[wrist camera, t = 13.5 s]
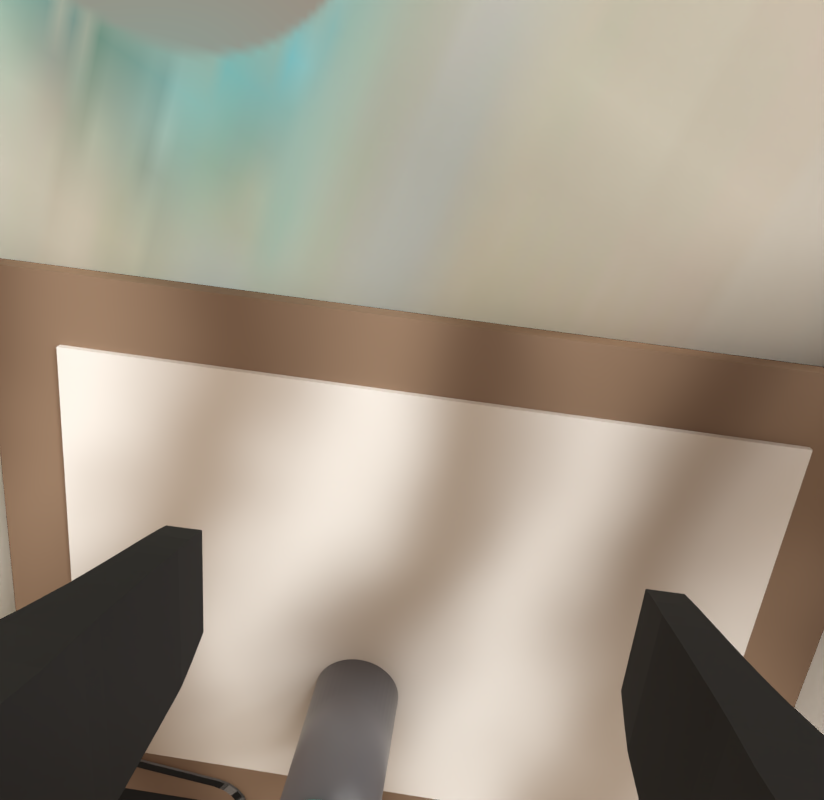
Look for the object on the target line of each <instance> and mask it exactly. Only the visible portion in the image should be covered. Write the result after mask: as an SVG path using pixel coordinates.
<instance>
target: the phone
mask: <svg viewBox="0 0 824 800" xmlns="http://www.w3.org/2000/svg"><path fill="white" fill-rule="evenodd" d="M137 767H138V768H142V769H146V770H150V771H154V772H158V773H162V774H166V775H170V776H174V777H178V778H182V779H186V780H190V781H194V782H198V783H202V784H206V785H210V786H214V787H216V788H219V789H222V790H224V791H225V792H227V793H228V794H230V795H231V796H232V797H233V798H234V799H235V800H246V799H245V796H244V795H243V794H242V793H241V792H240V791H239V789H237V788H236V787H235V786H233V785H232V784H230V783H228V782H225V781H223V780H220V779H216V778H212V777H208V776H205V775H201V774H197V773H193V772H189V771H185V770H181V769H177V768H173V767H169V766H165V765H161V764H157V763H153V762H150V761H146V760H142V759H141V761H140V762H139V764H138V766H137ZM118 800H197V799H191V798H184V797H178V796H172V795H166V794H160V793H154V792H148V791H141V790H135V789H129V788H125V789H124V791H123V792H122V794H121V796H120V798H119V799H118Z"/></svg>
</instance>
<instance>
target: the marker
mask: <svg viewBox="0 0 824 800" xmlns="http://www.w3.org/2000/svg"><path fill="white" fill-rule="evenodd" d="M397 704H398V690H397V687H396V684H395V682H394V681H393V679H392V678H391V676H390V675H389V674H388V673H387V672H386V671H384V670H383V669H382V668H380V667H379V666H377V665H375V664H373V663H370V662H367V661H364V660H358V659H347V660H341V661H338V662H335V663H333V664H331V665H329V666H328V667H327V668H325V669H324V670H323V671H322V672H321V674H320V675H319V677H318V679H317V682H316V686H315V689H314V692H313V695H312V698H311V702H310V705H309V708H308V711H307V715H306V718H305V721H304V724H303V727H302V731H301V734H300V737H299V740H298V744H297V747H296V750H295V753H294V756H293V760H292V763H291V766H290V769H289V773H288V776H287V779H286V782H285V785H284V789H283V792H282V795H281V798H280V800H382V795H383V789H384V783H385V777H386V771H387V765H388V759H389V753H390V746H391V740H392V734H393V728H394V722H395V716H396V710H397Z"/></svg>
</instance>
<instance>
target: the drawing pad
mask: <svg viewBox="0 0 824 800" xmlns="http://www.w3.org/2000/svg"><path fill="white" fill-rule="evenodd" d="M0 454H1V464H2V474H3V484H4V494H5V505H6V515H7V525H8V535H9V545H10V555H11V565H12V576H13V586H14V596H15V606H16V611H17V610H19V609H21V608H23V607H25V606H27V605H28V604H30V603H32V602H34V601H36V600H38V599H40V598H42V597H43V596H45V595H47V594H49V593H51V592H53V591H55V590H56V589H58V588H60V587H62V586H64V585H66V584H68V583H69V582H71V581H73V580H74V579H76V578H78V577H79V576H81V575H83V574H85V573H86V572H88V571H90V570H91V569H93V568H95V567H96V566H98V565H100V564H101V563H103V562H105V561H106V560H108V559H110V558H111V557H113V556H115V555H116V554H118V553H120V552H121V551H123V550H125V549H126V548H128V547H129V546H131V545H133V544H134V543H136V542H138V541H139V540H141V539H143V538H144V537H146V536H148V535H149V534H151V533H153V532H155V531H156V530H158V529H160V528H162V527H164V526H166V525H167V526H175V527H183V528H190V529H198V530H202V556H203V629H204V632H203V635H202V637H201V640H200V643H199V645H198V648H197V650H196V653H195V655H194V658H193V661H192V663H191V666H190V668H189V670H188V673H187V675H186V678H185V680H184V682H183V685H182V687H181V689H180V691H179V693H178V694H177V696H176V698H175V700H174V702H173V704H172V705H171V707H170V709H169V711H168V713H167V714H166V716H165V718H164V720H163V722H162V723H161V725H160V727H159V729H158V731H157V732H156V734H155V736H154V738H153V739H152V741H151V743H150V745H149V746H148V748H147V750H146V752H145V754H144V755H143V757H142V760H146V761H150V762H153V763H157V764H161V765H165V766H169V767H173V768H177V769H181V770H185V771H189V772H193V773H197V774H201V775H205V776H208V777H212V778H216V779H220V780H223V781H225V782H228V783H230V784H232V785H233V786H235V787H236V788H237V789H239V791H240V792H241V793H242V794H243V795H244V796H245V799H246V800H280V798H281V795H282V792H283V789H284V785H285V782H286V779H287V776H288V773H289V769H290V766H291V763H292V760H293V756H294V753H295V750H296V747H297V744H298V740H299V737H300V734H301V731H302V727H303V724H304V721H305V718H306V715H307V711H308V708H309V705H310V702H311V698H312V695H313V692H314V689H315V686H316V682H317V679H318V677H319V675H320V674H321V672H322V671H323V670H324V669H325V668H327V667H328V666H329V665H331V664H333V663H335V662H338V661H341V660H347V659H358V660H364V661H367V662H370V663H373V664H375V665H377V666H379V667H380V668H382V669H383V670H384V671H386V672H387V673H388V674H389V675H390V676H391V678H392V679H393V681H394V682H395V684H396V687H397V690H398V704H397V710H396V716H395V722H394V728H393V734H392V740H391V746H390V753H389V759H388V765H387V771H386V777H385V783H384V789H383V795H382V800H639V799H638V794H637V790H636V786H635V782H634V777H633V773H632V769H631V765H630V760H629V756H628V751H627V743H626V735H625V726H624V717H623V706H622V696H621V689H622V684H623V680H624V676H625V672H626V668H627V664H628V660H629V655H630V651H631V647H632V643H633V639H634V635H635V631H636V627H637V622H638V618H639V614H640V610H641V606H642V602H643V598H644V593H645V589H651V590H658V591H666V592H673V593H681V594H685V595H686V596H687V597H688V598H689V599H690V600H691V601H692V602H693V603H694V604H695V605H696V606H697V607H698V608H699V609H700V610H701V611H702V612H703V614H704V615H705V616H706V617H707V618H708V619H709V620H710V621H711V622H712V623H713V624H714V626H715V627H716V628H717V629H718V630H719V631H720V632H721V633H722V634H723V635H724V636H725V638H726V639H727V640H728V641H729V642H730V643H731V644H732V645H733V646H734V647H735V648H736V649H737V650H738V652H739V653H740V654H741V655H742V656H743V657H744V658H745V659H746V660H747V661H748V662H749V663H750V664H751V665H752V666H753V667H754V668H755V669H756V671H757V672H758V673H759V674H760V675H761V676H762V677H763V678H764V679H765V680H766V681H767V682H768V683H769V684H770V685H771V686H772V687H773V688H774V689H775V690H776V691H777V692H778V693H779V694H780V695H781V696H782V697H783V698H784V699H785V700H786V701H787V702H788V703H789V704H790V705H792V706H793V707H795V704H796V701H797V699H798V696H799V693H800V691H801V688H802V685H803V683H804V680H805V678H806V675H807V672H808V670H809V667H810V664H811V662H812V659H813V656H814V654H815V651H816V648H817V646H818V643H819V640H820V638H821V635H822V633H823V630H824V367H819V366H812V365H804V364H797V363H789V362H782V361H774V360H766V359H759V358H751V357H744V356H736V355H729V354H721V353H713V352H706V351H698V350H691V349H683V348H676V347H668V346H660V345H653V344H645V343H638V342H630V341H622V340H615V339H607V338H600V337H592V336H585V335H577V334H569V333H562V332H554V331H547V330H539V329H532V328H524V327H516V326H509V325H501V324H494V323H486V322H479V321H471V320H463V319H456V318H448V317H441V316H433V315H426V314H418V313H410V312H403V311H395V310H388V309H380V308H372V307H365V306H357V305H350V304H342V303H335V302H327V301H319V300H312V299H304V298H297V297H289V296H282V295H274V294H266V293H259V292H251V291H244V290H236V289H229V288H221V287H213V286H206V285H198V284H191V283H183V282H175V281H168V280H160V279H153V278H145V277H138V276H130V275H122V274H115V273H107V272H100V271H92V270H85V269H77V268H69V267H62V266H54V265H47V264H39V263H32V262H24V261H16V260H9V259H1V258H0ZM125 788H129V789H135V790H141V791H148V792H154V793H160V794H166V795H172V796H178V797H184V798H191V799H197V800H235V799H234V798H233V797H232V796H231V795H230V794H228V793H227V792H225V791H224V790H222V789H219V788H216V787H214V786H210V785H206V784H202V783H198V782H194V781H190V780H186V779H182V778H178V777H174V776H170V775H166V774H162V773H158V772H154V771H150V770H146V769H142V768H138V767H137V768H136V769H135V771H134V773H133V775H132V776H131V778H130V780H129V782H128V784H127V785H126V787H125Z"/></svg>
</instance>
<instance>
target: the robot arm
mask: <svg viewBox="0 0 824 800" xmlns="http://www.w3.org/2000/svg"><path fill="white" fill-rule="evenodd" d="M203 632H204V629H203V556H202V530H198V529H190V528H183V527H175V526H167V525H166V526H164V527H162V528H160V529H158V530H156V531H155V532H153V533H151V534H149V535H148V536H146V537H144V538H143V539H141V540H139V541H138V542H136V543H134V544H133V545H131V546H129V547H128V548H126V549H125V550H123V551H121V552H120V553H118V554H116V555H115V556H113V557H111V558H110V559H108V560H106V561H105V562H103V563H101V564H100V565H98V566H96V567H95V568H93V569H91V570H90V571H88V572H86V573H85V574H83V575H81V576H79V577H78V578H76V579H74V580H73V581H71V582H69V583H68V584H66V585H64V586H62V587H60V588H58V589H56V590H55V591H53V592H51V593H49V594H47V595H45V596H43V597H42V598H40V599H38V600H36V601H34V602H32V603H30V604H28V605H27V606H25V607H23V608H21V609H19V610H17V611H15V612H14V613H12V614H10V615H8V616H6V617H4V618H2V619H0V800H118V799H119V798H120V796H121V794H122V792H123V791H124V789H125V787H126V785H127V784H128V782H129V780H130V778H131V776H132V775H133V773H134V771H135V769H136V768H137V766H138V764H139V762H140V761H141V759H142V757H143V755H144V754H145V752H146V750H147V748H148V746H149V745H150V743H151V741H152V739H153V738H154V736H155V734H156V732H157V731H158V729H159V727H160V725H161V723H162V722H163V720H164V718H165V716H166V714H167V713H168V711H169V709H170V707H171V705H172V704H173V702H174V700H175V698H176V696H177V694H178V693H179V691H180V689H181V687H182V685H183V682H184V680H185V678H186V675H187V673H188V670H189V668H190V666H191V663H192V661H193V658H194V655H195V653H196V650H197V648H198V645H199V643H200V640H201V637H202V635H203ZM621 696H622V706H623V717H624V726H625V735H626V743H627V751H628V756H629V760H630V765H631V769H632V773H633V777H634V782H635V786H636V790H637V794H638V799H639V800H824V735H823V734H822V733H821V732H819V731H818V730H817V729H816V728H815V727H814V726H813V725H812V724H811V723H810V722H809V721H808V720H807V719H805V718H804V717H803V716H802V715H801V714H800V713H799V712H798V711H797V710H796V709H795V708H794V707H793V706H792V705H790V704H789V703H788V702H787V701H786V700H785V699H784V698H783V697H782V696H781V695H780V694H779V693H778V692H777V691H776V690H775V689H774V688H773V687H772V686H771V685H770V684H769V683H768V682H767V681H766V680H765V679H764V678H763V677H762V676H761V675H760V674H759V673H758V672H757V671H756V669H755V668H754V667H753V666H752V665H751V664H750V663H749V662H748V661H747V660H746V659H745V658H744V657H743V656H742V655H741V654H740V653H739V652H738V650H737V649H736V648H735V647H734V646H733V645H732V644H731V643H730V642H729V641H728V640H727V639H726V638H725V636H724V635H723V634H722V633H721V632H720V631H719V630H718V629H717V628H716V627H715V626H714V624H713V623H712V622H711V621H710V620H709V619H708V618H707V617H706V616H705V615H704V614H703V612H702V611H701V610H700V609H699V608H698V607H697V606H696V605H695V604H694V603H693V602H692V601H691V600H690V599H689V598H688V597H687V596H686V595H685V594H681V593H673V592H666V591H658V590H651V589H645V593H644V598H643V602H642V606H641V610H640V614H639V618H638V622H637V627H636V631H635V635H634V639H633V643H632V647H631V651H630V655H629V660H628V664H627V668H626V672H625V676H624V680H623V684H622V689H621Z"/></svg>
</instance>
